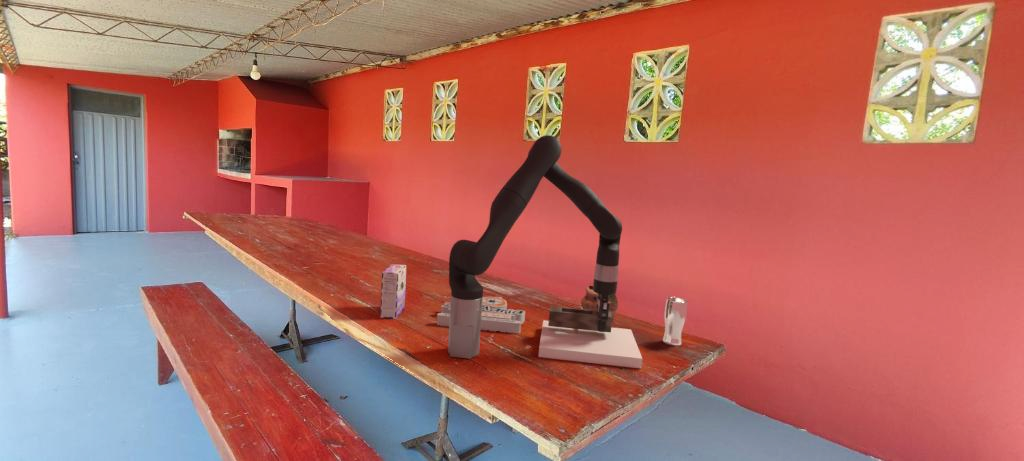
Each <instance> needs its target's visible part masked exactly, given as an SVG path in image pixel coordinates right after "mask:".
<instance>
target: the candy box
mask: <svg viewBox="0 0 1024 461" xmlns="http://www.w3.org/2000/svg"><path fill="white" fill-rule="evenodd" d="M406 279H407V265H406V264H396V263H392V264H390V265H389V266H388V267H387V268H385V269H384V270H382V272H381V285H380V286H381V287H380V289H381V290H380V308H379V309H380V311H379V313H380V314H379V318H381V319H388V320H389V319H393V320H396V319H397V318H398V317H399V316H400V314H401V313H402V312H403V310H404V309H405V307H406V306H405V305H406V289H407V288H406V286H407V284H406V282H407V280H406Z"/></svg>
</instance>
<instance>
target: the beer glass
mask: <svg viewBox="0 0 1024 461" xmlns="http://www.w3.org/2000/svg"><path fill="white" fill-rule="evenodd" d="M664 306H665V308H664V335H663V338H662V342H663V343H664V344H666V345H669V346H676V347H677V346H681V345H682V332H683V329H684V325H685V323H686V319H687V312H688V300H687V299H685V298H683V297H678V296H677V297H676V296H669V297H668V296H667V297H666V302H665V305H664Z"/></svg>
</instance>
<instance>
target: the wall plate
mask: <svg viewBox="0 0 1024 461" xmlns="http://www.w3.org/2000/svg"><path fill="white" fill-rule="evenodd" d="M548 323H549V320H542V327H541V332H540V333H541V334H540V341H539V346H538V347H539V348H538V358H545V359H553V360H561V361H562V360H563V361H570V362H571V361H572V362H580V363H590V364H591V363H592V364H596V365H597V364H598V365H605V366H607V365H608V366H615V367H623V368H624V367H625V368H634V369H642V364H643V357H642V353H641V351H640V348H639V347H638V343H637V342H636V341H637V340H636V338H635V336H634V334H633V331H632V329H630V328H629V329H628V328H620V327H613V326H611V332H599V331H591V330H582V329H572V328H562V327H553V326H548Z"/></svg>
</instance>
